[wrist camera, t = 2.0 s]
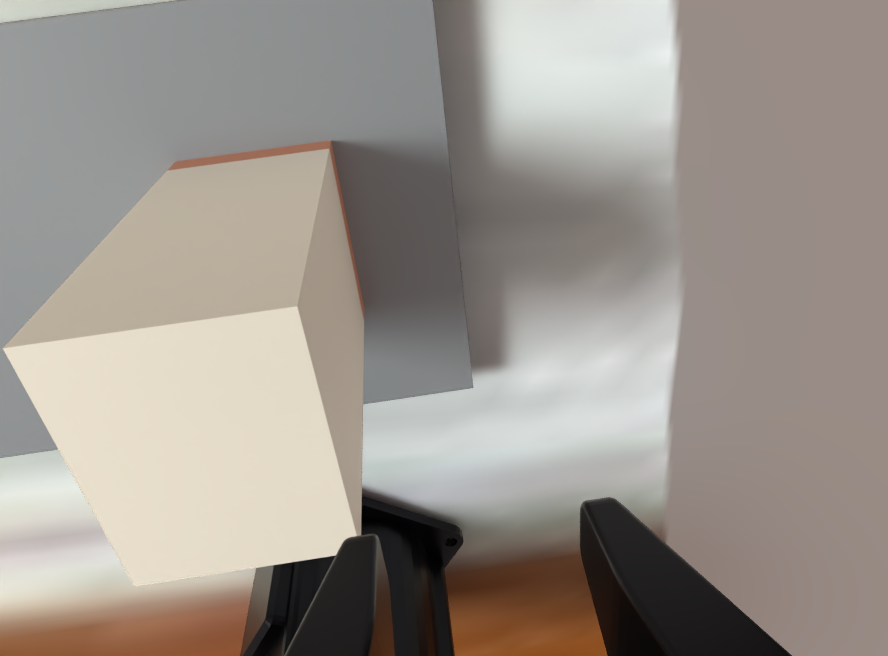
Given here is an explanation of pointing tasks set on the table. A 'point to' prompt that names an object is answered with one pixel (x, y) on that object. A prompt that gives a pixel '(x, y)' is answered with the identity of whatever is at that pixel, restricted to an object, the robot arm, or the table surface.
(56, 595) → the table surface
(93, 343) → the cream block
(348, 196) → the board
